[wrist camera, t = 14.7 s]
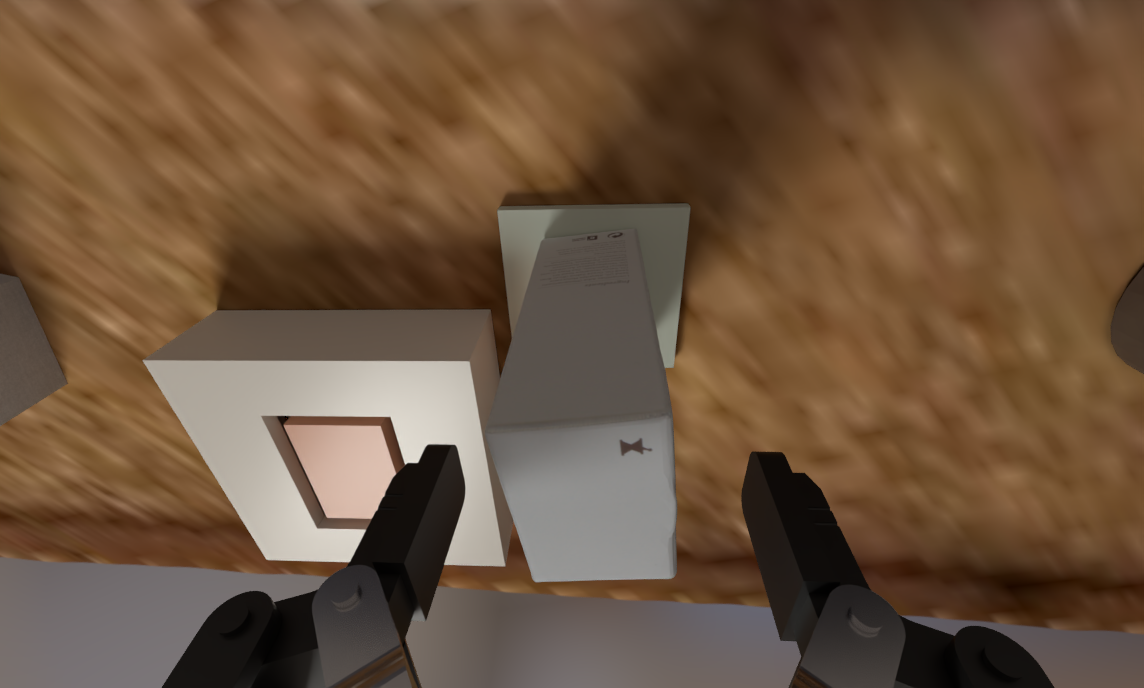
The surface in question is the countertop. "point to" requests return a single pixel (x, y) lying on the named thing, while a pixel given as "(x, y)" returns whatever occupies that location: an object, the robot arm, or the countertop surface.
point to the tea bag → (23, 353)
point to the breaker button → (347, 460)
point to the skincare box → (588, 417)
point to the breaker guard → (336, 413)
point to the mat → (654, 223)
